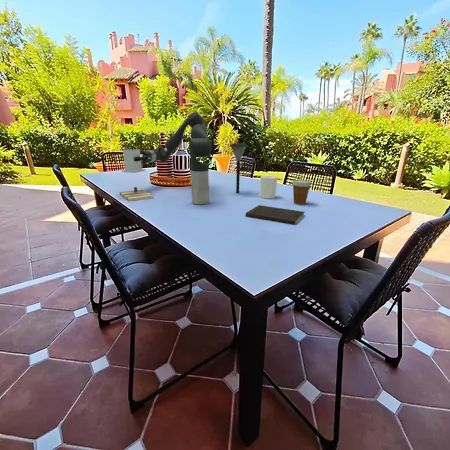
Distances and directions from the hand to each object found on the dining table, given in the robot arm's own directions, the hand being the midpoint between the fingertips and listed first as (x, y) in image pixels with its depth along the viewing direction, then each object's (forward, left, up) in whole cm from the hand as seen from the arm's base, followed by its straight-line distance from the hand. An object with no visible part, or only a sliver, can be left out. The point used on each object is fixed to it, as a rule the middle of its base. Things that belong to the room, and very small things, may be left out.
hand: (129, 159), depth 151 cm
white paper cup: (-42, -67, -22) cm, 82 cm away
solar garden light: (-24, -58, -22) cm, 66 cm away
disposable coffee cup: (-62, -72, -22) cm, 97 cm away
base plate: (+1, -2, -21) cm, 22 cm away
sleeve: (+2, -2, -7) cm, 7 cm away
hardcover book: (-72, -44, -22) cm, 87 cm away
